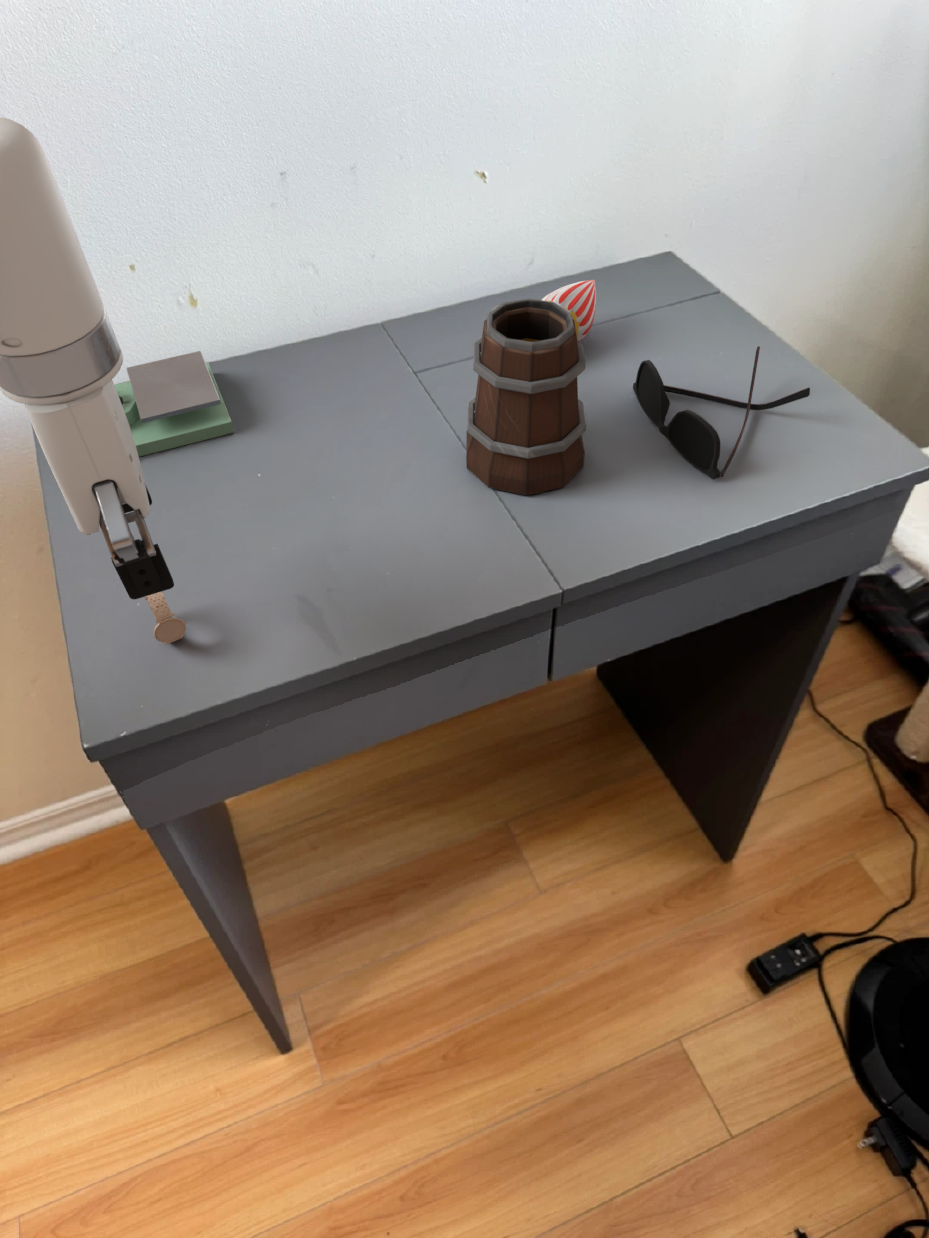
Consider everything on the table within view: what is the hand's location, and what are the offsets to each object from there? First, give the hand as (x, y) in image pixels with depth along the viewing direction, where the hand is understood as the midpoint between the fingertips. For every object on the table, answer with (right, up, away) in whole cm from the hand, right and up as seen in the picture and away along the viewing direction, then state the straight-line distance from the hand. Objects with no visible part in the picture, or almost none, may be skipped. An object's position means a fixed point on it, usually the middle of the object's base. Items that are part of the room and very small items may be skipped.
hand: (142, 548), depth 66 cm
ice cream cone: (+34, +25, +34) cm, 54 cm away
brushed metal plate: (-6, +19, +25) cm, 32 cm away
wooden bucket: (+30, +12, +23) cm, 39 cm away
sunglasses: (+51, +15, +24) cm, 59 cm away
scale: (-8, +16, +27) cm, 32 cm away
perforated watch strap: (0, -7, +7) cm, 10 cm away
